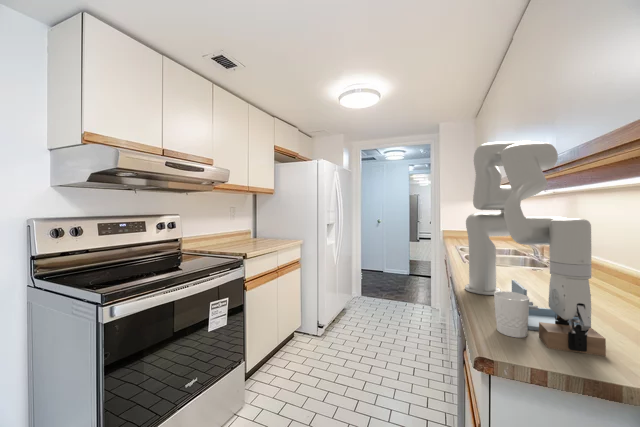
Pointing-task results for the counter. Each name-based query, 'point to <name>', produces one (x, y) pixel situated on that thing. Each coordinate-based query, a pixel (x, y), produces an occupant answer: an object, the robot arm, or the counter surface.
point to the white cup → (511, 313)
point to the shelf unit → (537, 310)
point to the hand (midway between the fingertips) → (570, 342)
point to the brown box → (558, 338)
